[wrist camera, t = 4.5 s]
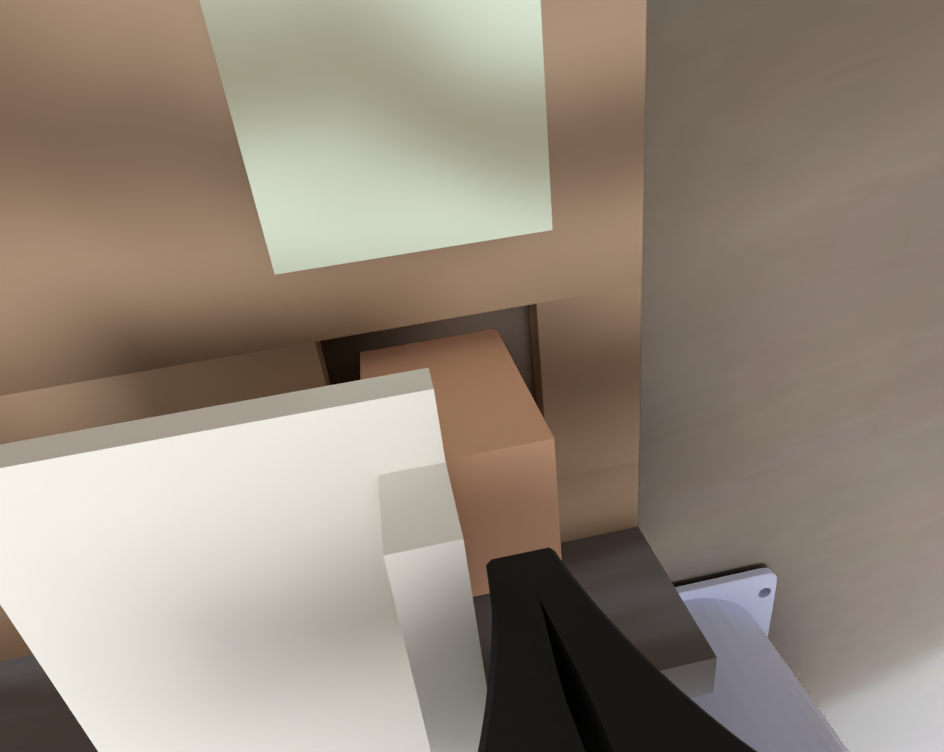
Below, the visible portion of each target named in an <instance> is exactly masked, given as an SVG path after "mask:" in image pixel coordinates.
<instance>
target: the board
mask: <svg viewBox="0 0 944 752" xmlns="http://www.w3.org/2000/svg"><path fill="white" fill-rule="evenodd" d="M646 5H647V0H0V444H6V443H11V442H17V441H22V440H28V439H33V438H39V437H45V436H50V435H56V434H61V433H67V432H72V431H78V430H84V429H89V428H95V427H100V426H106V425H112V424H117V423H123V422H128V421H134V420H139V419H145V418H151V417H156V416H162V415H167V414H173V413H178V412H184V411H190V410H195V409H201V408H206V407H212V406H217V405H223V404H229V403H234V402H240V401H245V400H251V399H256V398H262V397H268V396H273V395H279V394H284V393H290V392H295V391H301V390H307V389H312V388H318V387H323V386H329V385H331V383H330V379H329V375H328V371H327V367H326V363H325V359H324V355H323V351H322V347H321V343H320V341H322V340H328V339H334V338H340V337H345V336H351V335H357V334H363V333H369V332H374V331H380V330H386V329H392V328H398V327H403V326H409V325H415V324H421V323H427V322H432V321H438V320H444V319H450V318H456V317H461V316H467V315H473V314H479V313H485V312H491V311H496V310H502V309H508V308H514V307H520V306H525V305H529V319H530V332H531V345H532V359H533V372H534V385H535V399H536V405H537V407H538V409H539V411H540V412H541V414H542V416H543V418H544V420H545V422H546V424H547V426H548V428H549V429H550V431H551V433H552V435H553V437H554V442H555V458H556V474H557V491H558V507H559V523H560V540H561V556H562V562H563V563H564V565H565V566H566V567H567V569H568V570H569V571H570V573H571V574H572V575H573V577H574V578H575V579H576V580H577V582H578V583H579V584H580V585H581V587H582V588H583V589H584V590H585V591H586V593H587V594H588V595H589V596H590V598H591V599H592V600H593V601H594V602H595V603H596V605H597V606H598V607H599V608H600V609H601V610H602V611H603V613H604V614H605V615H606V616H607V617H608V618H609V619H610V620H611V621H612V622H613V624H614V625H615V626H616V627H617V628H618V629H619V630H620V631H621V632H622V633H623V634H624V636H625V637H626V638H627V639H628V640H629V641H630V642H631V643H632V644H633V645H634V646H635V647H636V648H637V649H638V650H639V651H640V652H641V653H642V654H643V655H644V656H645V657H646V658H647V659H648V660H649V661H650V662H651V663H652V664H653V665H654V666H655V667H656V668H657V669H658V670H659V671H661V672H662V673H663V674H664V675H665V676H666V677H667V678H668V679H669V680H670V681H671V682H672V683H673V684H675V685H676V686H677V687H678V688H679V689H680V690H681V691H682V692H683V693H685V694H686V695H687V696H688V697H689V698H695V697H699V696H703V695H707V694H711V693H713V690H714V681H715V672H716V662H717V657H716V655H715V653H714V652H713V650H712V648H711V647H710V645H709V643H708V642H707V640H706V638H705V637H704V635H703V633H702V632H701V630H700V628H699V627H698V625H697V624H696V622H695V620H694V619H693V617H692V615H691V614H690V612H689V610H688V609H687V607H686V605H685V604H684V602H683V600H682V599H681V597H680V595H679V594H678V592H677V590H676V589H675V587H674V586H673V584H672V582H671V581H670V579H669V577H668V576H667V574H666V572H665V571H664V569H663V567H662V566H661V564H660V562H659V561H658V559H657V557H656V556H655V554H654V552H653V551H652V549H651V548H650V546H649V544H648V543H647V541H646V539H645V538H644V536H643V534H642V533H641V531H640V529H639V528H638V486H639V425H640V365H641V305H642V245H643V185H644V125H645V65H646ZM473 603H474V609H475V615H476V622H477V628H478V634H479V641H480V647H481V653H482V660H483V666H484V672H485V679H486V685H487V686H488V677H489V668H490V656H491V634H492V608H491V600H490V593H489V594H484V595H479V596H475V597H473ZM0 752H98V751H97V749H96V748H95V746H94V745H93V743H92V742H91V740H90V739H89V737H88V736H87V734H86V733H85V731H84V730H83V728H82V727H81V725H80V724H79V722H78V721H77V719H76V718H75V716H74V715H73V713H72V712H71V710H70V709H69V707H68V706H67V704H66V703H65V701H64V700H63V698H62V697H61V695H60V694H59V692H58V691H57V689H56V688H55V686H54V685H53V683H52V682H51V680H50V679H49V677H48V676H47V674H46V673H45V671H44V670H43V668H42V667H41V665H40V664H39V662H38V661H37V659H36V658H35V656H34V655H33V653H32V652H31V650H30V649H29V647H28V646H27V644H26V643H25V641H24V640H23V638H22V636H21V635H20V633H19V632H18V630H17V629H16V627H15V626H14V624H13V623H12V621H11V620H10V618H9V617H8V615H7V614H6V612H5V611H4V609H3V608H2V606H1V605H0Z"/></svg>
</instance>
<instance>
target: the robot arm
mask: <svg viewBox="0 0 944 752" xmlns="http://www.w3.org/2000/svg"><path fill="white" fill-rule="evenodd" d="M486 569H487V577H488V585H489V592H490V600H491V608H492V634H491V656H490V668H489V677H488V686H487V695H486V704H485V711H484V718H483V724H482V731H481V737H480V742H479V748H478V752H849V751H848V750H847V748H846V747H845V746H844V744H843V743H842V741H841V740H840V738H839V737H838V736H837V734H836V733H835V731H834V730H833V729H832V727H831V726H830V724H829V723H828V722H827V720H826V719H825V717H824V716H823V715H822V713H821V712H820V710H819V709H818V708H817V706H816V705H815V703H814V702H813V701H812V699H811V698H810V696H809V695H808V694H807V692H806V691H805V689H804V688H803V687H802V685H801V684H800V682H799V681H798V680H797V678H796V677H795V675H794V674H793V672H792V671H791V670H790V668H789V667H788V665H787V664H786V663H785V661H784V660H783V658H782V657H781V656H780V654H779V653H778V651H777V650H776V649H775V647H774V646H773V644H772V643H771V642H770V640H769V639H768V633H769V627H770V621H771V615H772V609H773V603H774V596H775V590H776V584H777V576H776V575H775V574H774V573H773V571H772V570H771V569H769V568H759V569H755V570H750V571H746V572H741V573H737V574H732V575H728V576H723V577H719V578H714V579H710V580H705V581H701V582H696V583H692V584H687V585H683V586H678V587H675V589H676V590H677V592H678V594H679V595H680V597H681V599H682V600H683V602H684V604H685V605H686V607H687V609H688V610H689V612H690V614H691V615H692V617H693V619H694V620H695V622H696V624H697V625H698V627H699V628H700V630H701V632H702V633H703V635H704V637H705V638H706V640H707V642H708V643H709V645H710V647H711V648H712V650H713V652H714V653H715V655H716V657H717V662H716V672H715V681H714V690H713V693H711V694H707V695H703V696H699V697H695V698H689V697H688V696H687V695H686V694H685V693H683V692H682V691H681V690H680V689H679V688H678V687H677V686H676V685H675V684H673V683H672V682H671V681H670V680H669V679H668V678H667V677H666V676H665V675H664V674H663V673H662V672H661V671H659V670H658V669H657V668H656V667H655V666H654V665H653V664H652V663H651V662H650V661H649V660H648V659H647V658H646V657H645V656H644V655H643V654H642V653H641V652H640V651H639V650H638V649H637V648H636V647H635V646H634V645H633V644H632V643H631V642H630V641H629V640H628V639H627V638H626V637H625V636H624V634H623V633H622V632H621V631H620V630H619V629H618V628H617V627H616V626H615V625H614V624H613V622H612V621H611V620H610V619H609V618H608V617H607V616H606V615H605V614H604V613H603V611H602V610H601V609H600V608H599V607H598V606H597V605H596V603H595V602H594V601H593V600H592V599H591V598H590V596H589V595H588V594H587V593H586V591H585V590H584V589H583V588H582V587H581V585H580V584H579V583H578V582H577V580H576V579H575V578H574V577H573V575H572V574H571V573H570V571H569V570H568V569H567V567H566V566H565V565H564V563H563V562H562V560H561V559H560V558H559V556H558V555H557V553H556V552H555V551H554V550H553V549H551V548H544V549H539V550H534V551H529V552H525V553H520V554H515V555H510V556H505V557H500V558H496V559H491V560H490V561H489V562H488V563H487V564H486Z"/></svg>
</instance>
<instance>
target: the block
mask: <svg viewBox="0 0 944 752" xmlns="http://www.w3.org/2000/svg"><path fill="white" fill-rule="evenodd" d="M424 368H429V372H430V376H431V380H432V384H433V388H434V394H435V400H436V406H437V412H438V418H439V424H440V430H441V437H442V443H443V449H444V455H445V461H446V466H447V470H448V474H449V479H450V483H451V487H452V492H453V496H454V500H455V505H456V509H457V513H458V518H459V522H460V526H461V531H462V535H463V539H464V546H465V552H466V558H467V565H468V571H469V577H470V584H471V590H472V596H473V597H475V596H479V595H484V594H489V593H490V592H489V585H488V577H487V569H486V564H487V563H488V562H489V561H490V560H491V559H496V558H500V557H505V556H510V555H515V554H520V553H525V552H529V551H534V550H539V549H544V548H551V549H553V550H554V551H555V552H556V553H557V555H558V556H559V558H560V559H561V560H562V556H561V540H560V523H559V507H558V491H557V474H556V458H555V442H554V437H553V435H552V433H551V431H550V429H549V428H548V426H547V424H546V422H545V420H544V418H543V416H542V414H541V412H540V411H539V409H538V407H537V405H536V403H535V401H534V399H533V397H532V395H531V393H530V392H529V390H528V388H527V386H526V384H525V382H524V380H523V378H522V376H521V375H520V373H519V371H518V369H517V367H516V365H515V363H514V361H513V359H512V357H511V356H510V354H509V352H508V350H507V348H506V346H505V344H504V342H503V340H502V339H501V337H500V335H499V333H498V331H497V329H490V330H485V331H479V332H473V333H468V334H462V335H456V336H450V337H445V338H439V339H433V340H428V341H422V342H416V343H410V344H405V345H399V346H393V347H388V348H382V349H376V350H370V351H365V352H360V379H361V380H362V379H368V378H374V377H379V376H385V375H390V374H396V373H401V372H407V371H413V370H418V369H424Z"/></svg>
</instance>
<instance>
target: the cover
mask: <svg viewBox="0 0 944 752" xmlns="http://www.w3.org/2000/svg"><path fill="white" fill-rule="evenodd" d="M0 605H1V606H2V608H3V609H4V611H5V612H6V614H7V615H8V617H9V618H10V620H11V621H12V623H13V624H14V626H15V627H16V629H17V630H18V632H19V633H20V635H21V636H22V638H23V640H24V641H25V643H26V644H27V646H28V647H29V649H30V650H31V652H32V653H33V655H34V656H35V658H36V659H37V661H38V662H39V664H40V665H41V667H42V668H43V670H44V671H45V673H46V674H47V676H48V677H49V679H50V680H51V682H52V683H53V685H54V686H55V688H56V689H57V691H58V692H59V694H60V695H61V697H62V698H63V700H64V701H65V703H66V704H67V706H68V707H69V709H70V710H71V712H72V713H73V715H74V716H75V718H76V719H77V721H78V722H79V724H80V725H81V727H82V728H83V730H84V731H85V733H86V734H87V736H88V737H89V739H90V740H91V742H92V743H93V745H94V746H95V748H96V749H97V751H98V752H478V748H479V742H480V737H481V731H482V724H483V718H484V711H485V704H486V695H487V685H486V679H485V672H484V666H483V660H482V653H481V647H480V641H479V634H478V628H477V622H476V615H475V609H474V603H473V596H472V590H471V584H470V577H469V571H468V565H467V558H466V552H465V546H464V539H463V535H462V531H461V526H460V522H459V518H458V513H457V509H456V505H455V500H454V496H453V492H452V487H451V483H450V479H449V474H448V470H447V466H446V461H445V455H444V449H443V443H442V437H441V430H440V424H439V418H438V412H437V406H436V400H435V394H434V388H433V384H432V380H431V376H430V372H429V368H424V369H418V370H413V371H407V372H401V373H396V374H390V375H385V376H379V377H374V378H368V379H362V380H357V381H351V382H346V383H340V384H334V385H329V386H323V387H318V388H312V389H307V390H301V391H295V392H290V393H284V394H279V395H273V396H268V397H262V398H256V399H251V400H245V401H240V402H234V403H229V404H223V405H217V406H212V407H206V408H201V409H195V410H190V411H184V412H178V413H173V414H167V415H162V416H156V417H151V418H145V419H139V420H134V421H128V422H123V423H117V424H112V425H106V426H100V427H95V428H89V429H84V430H78V431H72V432H67V433H61V434H56V435H50V436H45V437H39V438H33V439H28V440H22V441H17V442H11V443H6V444H0Z"/></svg>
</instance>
